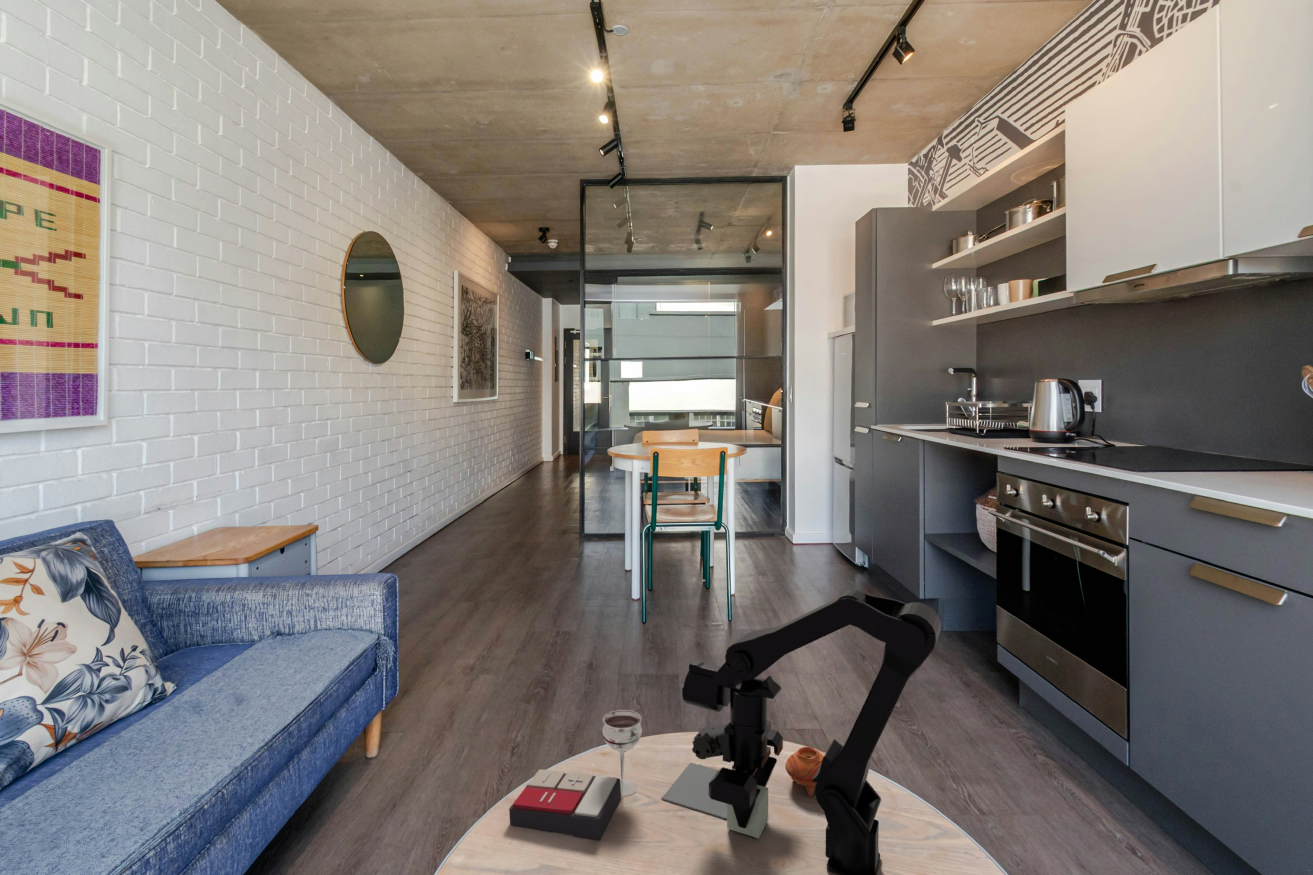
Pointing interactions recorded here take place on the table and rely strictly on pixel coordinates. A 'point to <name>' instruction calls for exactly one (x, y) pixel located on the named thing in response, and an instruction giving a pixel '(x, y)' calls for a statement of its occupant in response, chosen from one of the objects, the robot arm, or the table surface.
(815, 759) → the pot
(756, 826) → the sage block
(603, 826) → the calculator
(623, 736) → the wineglass
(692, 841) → the table surface
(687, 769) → the charcoal mat
